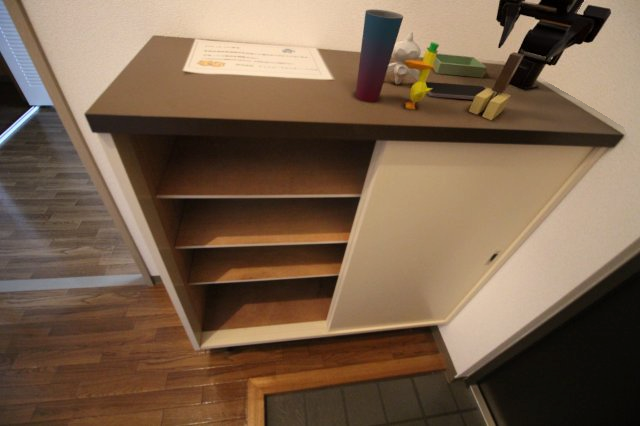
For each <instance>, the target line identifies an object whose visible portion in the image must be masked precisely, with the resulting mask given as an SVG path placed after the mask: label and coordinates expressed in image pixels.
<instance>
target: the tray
mask: <svg viewBox="0 0 640 426" xmlns="http://www.w3.org/2000/svg"><path fill="white" fill-rule="evenodd" d="M433 65H434V67H435V68H434V69H433V70H432V71H434V72H435V73H436V74H439V75H448V76H461V77H471V78H480V79H481V78H482V79H483V78H484V76H485V74H486V72H487V71H488V67H487V66H486V65H485V64H483V63H482V62H480V61H479V60H478V59H477V58H475V57H474V56H467V55H456V54H447V53H437V55H436V57H435V60H434V63H433Z"/></svg>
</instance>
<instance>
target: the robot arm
mask: <svg viewBox="0 0 640 426" xmlns="http://www.w3.org/2000/svg"><path fill="white" fill-rule="evenodd" d="M583 2H584V0H539V2H538V3H534V2H530V1H526V0H499V2H498V5H497V12H496V18H495V20H496V22H498V23H499V25H500V27H503V30H502V32H501V35H500V39H499V43H498V46H497V48H498V49H501V48H502V47H503V46H504V44H505V43H506V41H507V39H508V38H509V36H510V34H511V33H512V31H513V29H514V28H515V25H516V23H517V21H518V20H519V19H520V16H524V17H530V18H534V20H537V21H538V22H537V23H536V24H535V25H534V27H533V28H530V29H529V30H528V31H527V32H526V34H525V36H524V38H523V40H522V42H521V44H520V46H519V48H518V50H517V53H519V54H522V55H524V56H523V58H522V60H521V62H520V64H519V66H518V67H517V69H516V71H515V73H514V75H513V77H512V78H511V80H510V82H509V84H511V85H513V86H515V87H518V88H520V89H522V90H530V89H535V88H539V86H540V85H539V84H537V83H536V81H538V78H539V76H540V75H541V73H542V72H543V70H544V69H545V67H546V65H547V66H550V67H551V66H556V65H557V64H558V62H559V60H560V59H561V57H562V55H563V54H564V52H565V50H567V49H569V48H571V47H572V46H575V45H583V43H586V44H589V43H593V42H594V40H595V39H596V37H597V36H598V35H599V33H600V32H601V30H602V29H603V27H604V26H605V24H606V23H607V21H608V19H609V17H610V16H611V15H612V10H611V8H610V7H604V6H600V5H599V6H598V5H593V4H588V5H587V6H586V7H585V9H584V10H583V13H582V14H581V13H579V12H578V10H579V9H580V7H581V5H582V3H583ZM580 10H581V9H580ZM580 10H579V11H580ZM577 12H578V13H577Z"/></svg>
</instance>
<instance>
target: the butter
mask: <svg viewBox="0 0 640 426" xmlns="http://www.w3.org/2000/svg"><path fill="white" fill-rule="evenodd" d="M492 89H493V88H490V87H486V89H485V90H484V91H482V92H480V93H479V94H477V95H476V96H475V98H474V100H472V102H471V105H470V107H469V110H468V112H469V113H472V114H474V115H479V114H480V113H482V112H483V111H484V112H483V114H482V118H485V119H487V120H489V121H492V120H493V119H495V118H496V117H497V116H498V115H499V114H501V113H502V112H503V110H504V108H505V107H506V105H507V104H508V101H509V100H510V99H511V97H512V96H511V94H507V93H504V92H503V93H499V94H498V95H497V96H496V97H494V98H493V99H492V97H493V95H494V93H495V91H492ZM491 99H492V100H491Z"/></svg>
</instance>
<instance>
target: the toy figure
mask: <svg viewBox="0 0 640 426" xmlns="http://www.w3.org/2000/svg"><path fill="white" fill-rule="evenodd" d="M439 46H440V44H438V43H436V42H432V41H431V42H430V45H429V46H428V47H426V50H425V52H424V55H423V58H422V60H421V59H417V60H406V61H405V64H406V66H407V67H408V68H411V69H417V70H418V71H419V72H420V73H419V78H418V81H417V80H416V81H415V82H414V83H413V84H412V85H411V88H410V90H409V98H410V100H411V101H412V102H410V101H408V102H405V105H404V106H405V108H406V109H408V110H416V103H419V102H420V101H421V100H422V99H423V98H424V97H425V96H427V95H428V92H429V91H430V90H432V89H433V88H427V86H426V82H427V79H428V77H429V75H430V73H431V71H434V70H433V69H434V68H435V67H434V65H433V63H434V60H435V57H436V55H437V54H438V52H439V51H438V48H439Z"/></svg>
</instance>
